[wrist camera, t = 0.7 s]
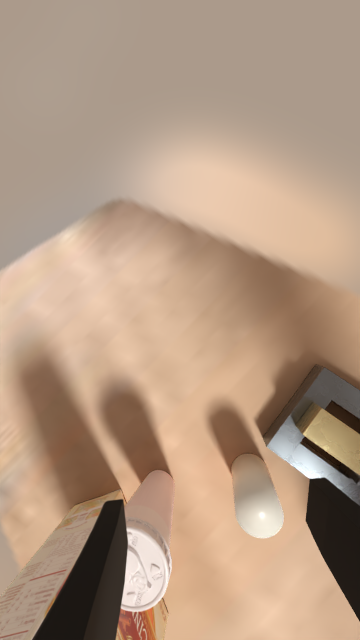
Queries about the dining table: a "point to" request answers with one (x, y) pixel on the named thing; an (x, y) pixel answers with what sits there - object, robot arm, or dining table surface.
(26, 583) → the coffeecake box
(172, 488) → the smoothie
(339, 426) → the shunt bar
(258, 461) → the white capsule cylinder
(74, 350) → the dining table surface
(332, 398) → the jig
